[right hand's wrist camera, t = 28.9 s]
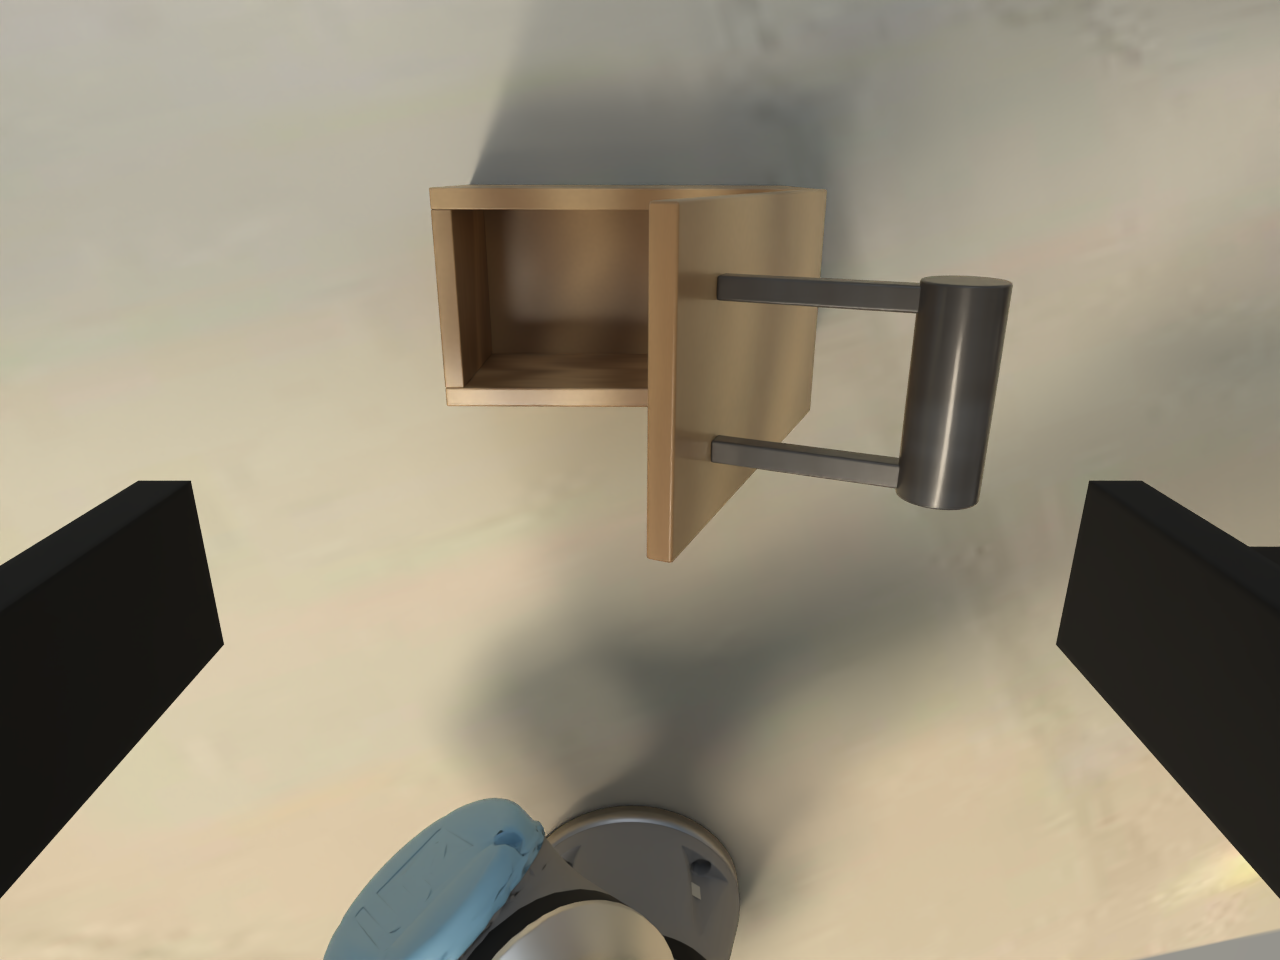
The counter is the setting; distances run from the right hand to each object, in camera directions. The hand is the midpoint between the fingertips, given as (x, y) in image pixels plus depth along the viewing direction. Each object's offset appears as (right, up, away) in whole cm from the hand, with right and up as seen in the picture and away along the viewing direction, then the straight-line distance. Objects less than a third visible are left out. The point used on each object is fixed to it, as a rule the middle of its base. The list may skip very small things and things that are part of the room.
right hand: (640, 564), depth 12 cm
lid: (+4, +6, +17) cm, 18 cm away
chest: (-1, +12, +32) cm, 35 cm away
